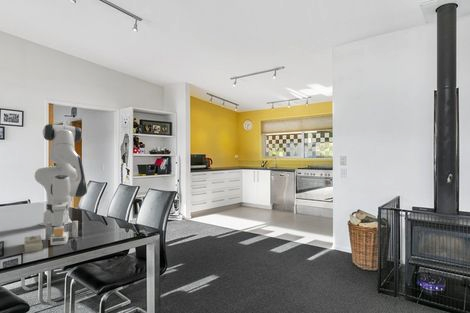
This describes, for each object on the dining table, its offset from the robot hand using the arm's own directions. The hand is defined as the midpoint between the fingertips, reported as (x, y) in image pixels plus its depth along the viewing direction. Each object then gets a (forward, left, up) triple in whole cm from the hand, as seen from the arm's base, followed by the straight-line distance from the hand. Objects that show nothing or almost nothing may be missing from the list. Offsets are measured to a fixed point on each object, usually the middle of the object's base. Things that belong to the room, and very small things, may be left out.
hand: (61, 229), depth 168 cm
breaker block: (+3, 0, -6) cm, 7 cm away
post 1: (-5, -7, -6) cm, 10 cm away
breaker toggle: (+7, 0, -1) cm, 8 cm away
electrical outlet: (+9, -11, -6) cm, 16 cm away
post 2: (-5, +6, -6) cm, 10 cm away
